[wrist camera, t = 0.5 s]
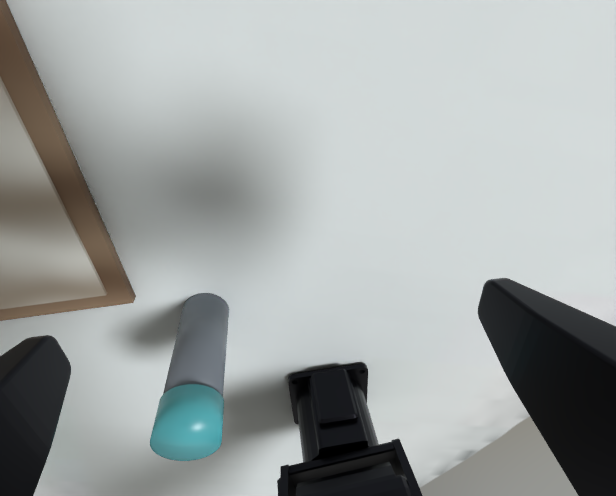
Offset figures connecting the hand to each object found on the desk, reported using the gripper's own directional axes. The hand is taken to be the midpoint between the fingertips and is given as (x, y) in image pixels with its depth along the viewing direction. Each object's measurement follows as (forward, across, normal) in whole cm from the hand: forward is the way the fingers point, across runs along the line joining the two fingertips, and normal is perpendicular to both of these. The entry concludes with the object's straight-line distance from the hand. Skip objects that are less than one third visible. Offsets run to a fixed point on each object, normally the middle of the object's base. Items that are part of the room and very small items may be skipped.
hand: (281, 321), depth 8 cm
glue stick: (+14, +5, +11) cm, 18 cm away
